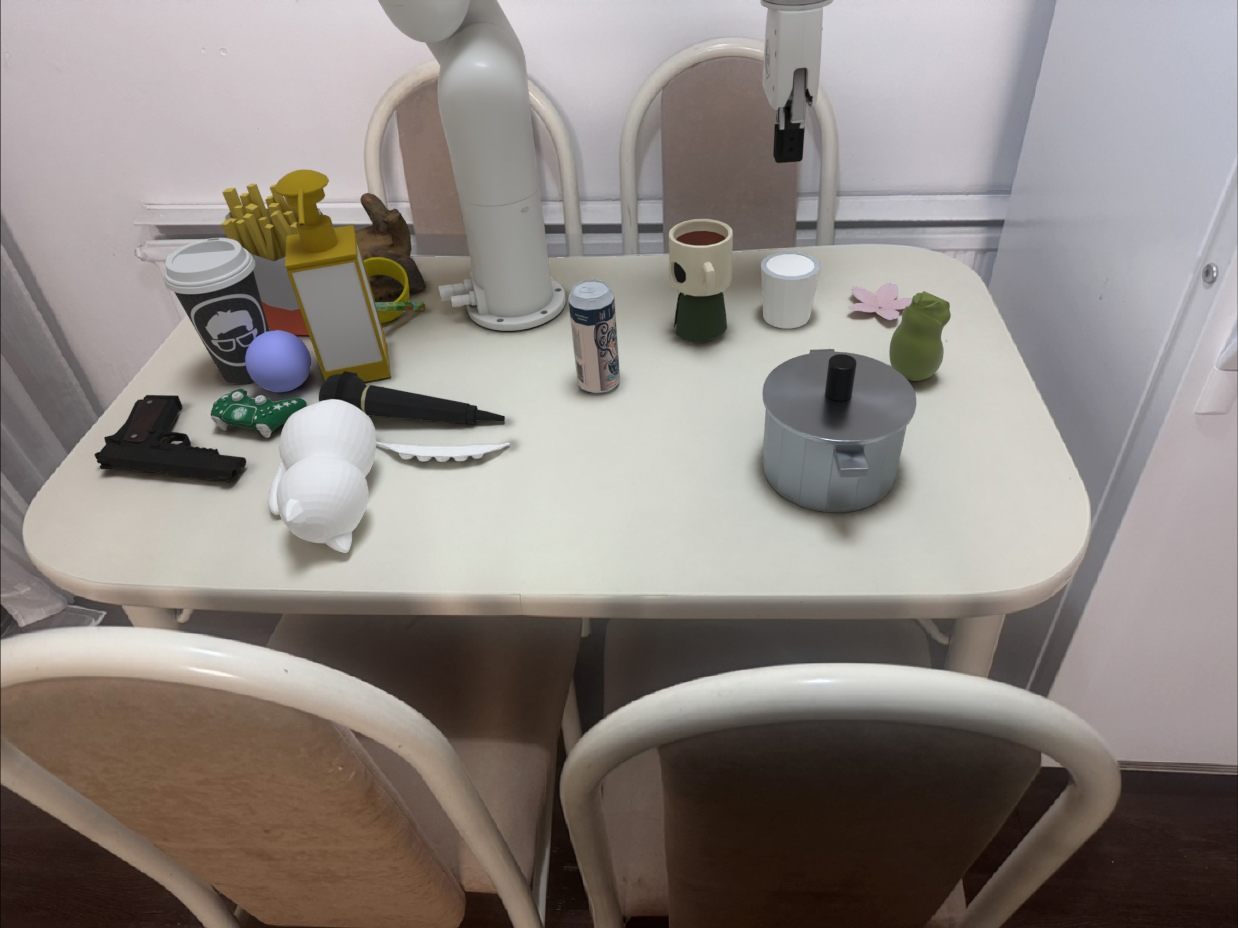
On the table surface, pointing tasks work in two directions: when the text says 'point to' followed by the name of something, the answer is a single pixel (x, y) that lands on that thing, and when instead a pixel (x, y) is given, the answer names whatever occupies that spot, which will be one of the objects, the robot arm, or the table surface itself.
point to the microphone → (399, 402)
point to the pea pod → (442, 451)
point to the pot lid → (839, 398)
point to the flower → (880, 301)
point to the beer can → (594, 336)
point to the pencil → (400, 306)
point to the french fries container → (267, 251)
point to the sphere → (278, 361)
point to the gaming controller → (253, 411)
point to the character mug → (700, 277)
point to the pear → (920, 337)
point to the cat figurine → (324, 472)
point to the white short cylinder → (788, 288)
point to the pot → (829, 468)
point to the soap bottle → (332, 285)
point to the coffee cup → (219, 300)
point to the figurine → (388, 248)
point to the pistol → (163, 445)
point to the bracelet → (393, 270)
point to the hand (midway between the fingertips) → (787, 159)
